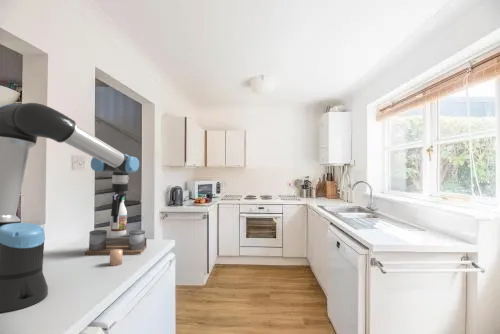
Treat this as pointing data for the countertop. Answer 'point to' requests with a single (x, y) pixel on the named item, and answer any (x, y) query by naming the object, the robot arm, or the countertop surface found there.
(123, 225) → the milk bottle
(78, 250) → the countertop surface
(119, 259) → the peach rounded cylinder
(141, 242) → the rack
